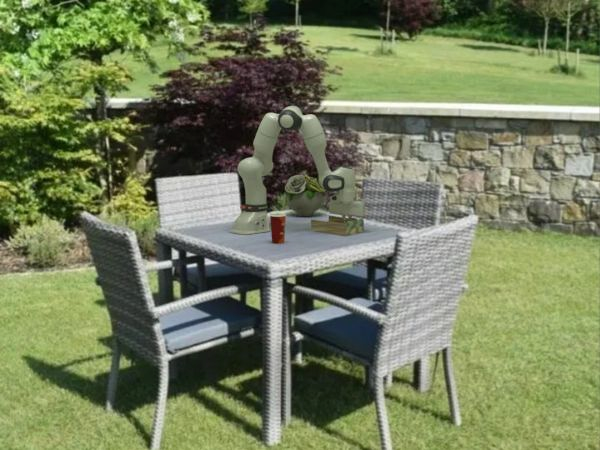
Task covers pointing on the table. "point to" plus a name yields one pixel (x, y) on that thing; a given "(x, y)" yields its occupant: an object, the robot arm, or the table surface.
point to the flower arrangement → (304, 194)
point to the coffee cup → (278, 226)
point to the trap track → (338, 226)
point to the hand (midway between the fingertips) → (346, 223)
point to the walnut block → (350, 219)
